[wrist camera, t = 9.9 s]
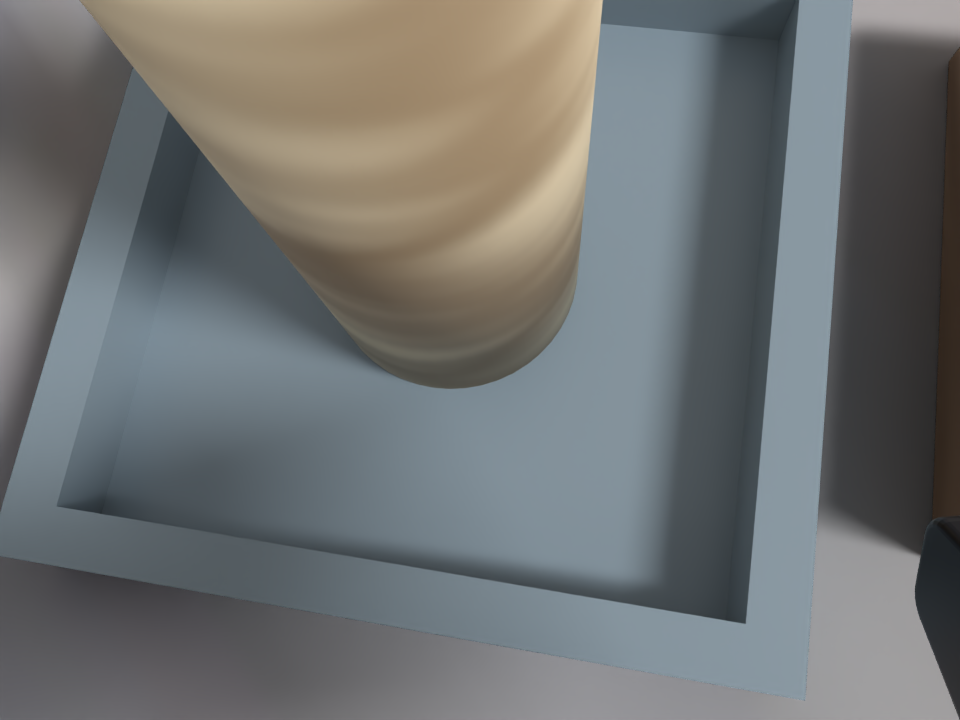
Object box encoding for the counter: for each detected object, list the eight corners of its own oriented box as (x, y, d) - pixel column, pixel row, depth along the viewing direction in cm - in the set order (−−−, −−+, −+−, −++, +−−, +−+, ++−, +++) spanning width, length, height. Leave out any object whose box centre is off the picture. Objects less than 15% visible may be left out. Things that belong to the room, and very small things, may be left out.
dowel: (379, 426, 17) (-314, -212, 3) (303, 208, 18) (-414, -883, 5) (616, 334, 17) (883, -652, 3) (524, 124, 18) (452, -1190, 5)
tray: (56, 558, 17) (-13, 554, 15) (221, -33, 21) (184, -104, 19) (770, 685, 16) (805, 701, 14) (821, 22, 19) (856, -50, 17)
